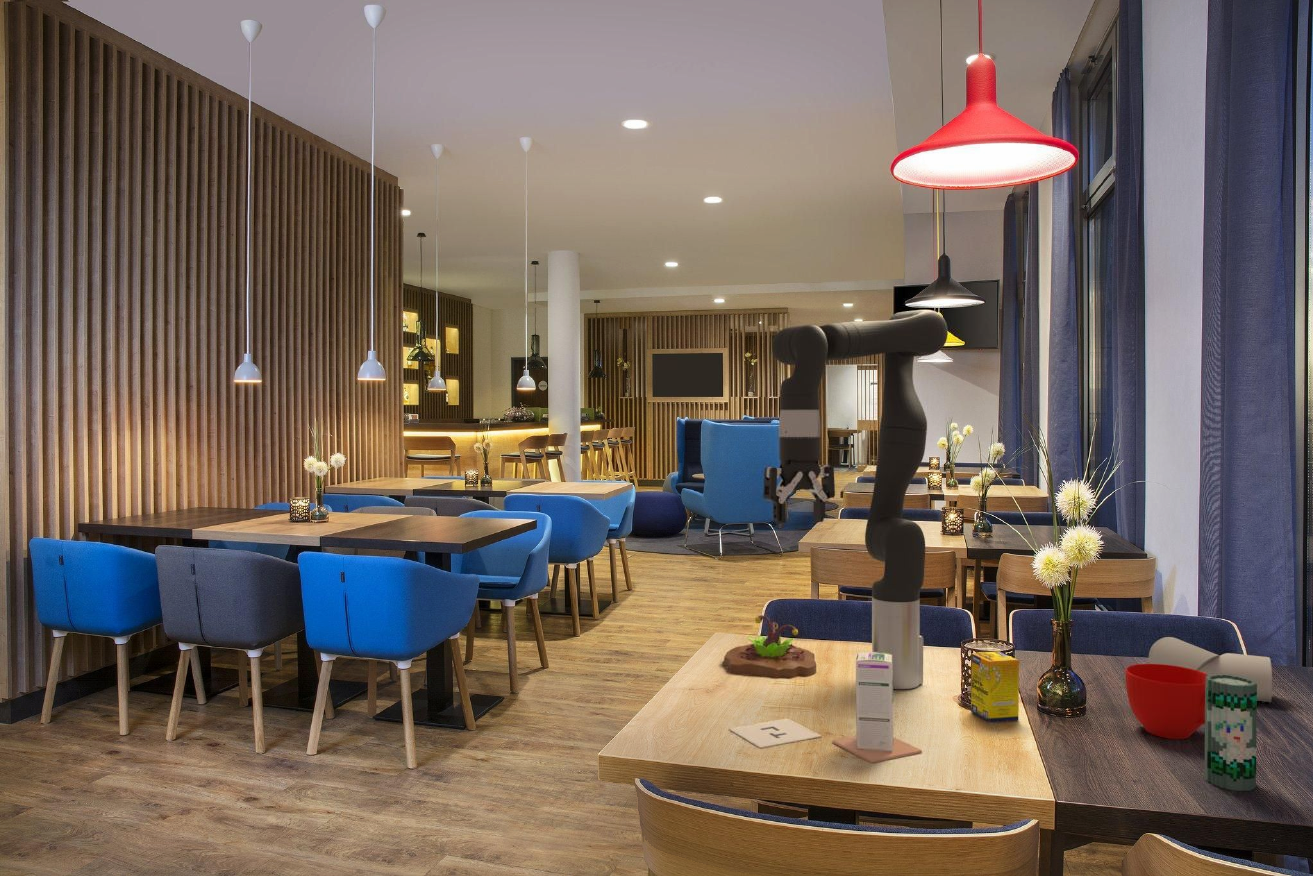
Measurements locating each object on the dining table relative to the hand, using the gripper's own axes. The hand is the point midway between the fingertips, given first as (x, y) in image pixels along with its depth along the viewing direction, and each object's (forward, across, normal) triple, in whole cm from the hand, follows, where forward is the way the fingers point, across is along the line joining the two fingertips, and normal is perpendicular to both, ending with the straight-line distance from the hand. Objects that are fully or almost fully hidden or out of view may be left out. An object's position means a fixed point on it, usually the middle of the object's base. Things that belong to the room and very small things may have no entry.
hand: (799, 522), depth 168 cm
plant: (+35, +11, +27) cm, 45 cm away
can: (+34, +36, -57) cm, 76 cm away
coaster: (+34, -1, -23) cm, 41 cm away
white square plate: (+34, -12, -10) cm, 38 cm away
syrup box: (+34, -1, -23) cm, 41 cm away
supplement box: (+34, +28, -20) cm, 49 cm away
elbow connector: (+34, +78, -26) cm, 89 cm away
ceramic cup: (+34, +48, -41) cm, 72 cm away
